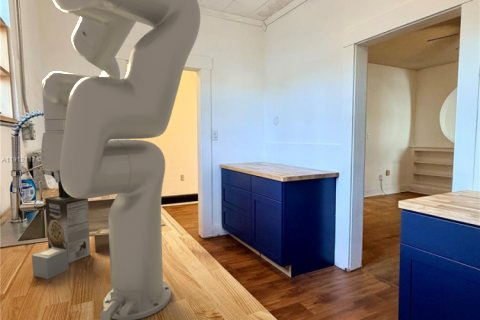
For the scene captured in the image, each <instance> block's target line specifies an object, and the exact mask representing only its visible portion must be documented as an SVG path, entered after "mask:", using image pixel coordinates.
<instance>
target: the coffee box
mask: <svg viewBox="0 0 480 320" xmlns="http://www.w3.org/2000/svg"><path fill="white" fill-rule="evenodd" d="M44 202H45V215H46V216H45V217H46V231H47V244H48V245H47V247H48V248H47V249H49V248H52V247H55V248H60V249H65V250H67V253H68V264H70V263H73V262H76V261H78V260H80V259H83V258H86V257H87V256H90V255H91V243H90V242H91V241H90V220H89V219H90V216H89V215H90V214H89V198H88V199H78V198H74V197H72V196H70V197H67V198H60V197H59V195H54V196H50V197H45V198H44Z"/></svg>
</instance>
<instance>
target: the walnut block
mask: <svg viewBox="0 0 480 320" xmlns="http://www.w3.org/2000/svg"><path fill="white" fill-rule="evenodd" d="M93 237H94V249H95V250H94V252H95V253H101V252H102V253H104V252H110V248H109V228H100V229H98V230H97V231H96V232H95V234H94V236H93Z"/></svg>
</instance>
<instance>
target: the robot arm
mask: <svg viewBox="0 0 480 320" xmlns="http://www.w3.org/2000/svg"><path fill="white" fill-rule="evenodd" d="M52 1H53V3H54V5H55V7H56V8H58V9H59V10H60V11H62V12H63V13H68V14H70V15H73V16H75V17H79V19H78V21H77V24H76V26H75V28H74V30H73V32H72V34H71V43H72V45H73V48H74V49H75V51H76V52H77V53H78V54H79V55H80V56H81V57H82V58H83V59H84V60H86V61H87V62H88V63H90V64H91V65H94V66H95V67H97V68H98V69H99V70H101V71H102V72H101V74H100V75H85V74H78V73H72V72H71V73H69V72H63V71H52V72H50V73H48V75H47V76H46V77H45V78H43V79H42V82H41V90H42V91H41V92H42V107H43V109H42V110H43V119H44V120H43V122H44V132H43V133H42V137H41V138H42V139H41V148H40V149H41V152H40V153H41V154H40V155H41V156H40V158H41V166H42V169H43V170H44V175H47V176H51V177H52V178H53V179H54V182H55V183H56V184H58V187H57V189H58V196H59V197H60V198H67V197H70V196H72V197H74V198H78V199H88V200H89V199H94V198H101V197H105V196H111V195H116V196H115V198H114V200H113V202H112V204H111V206H110V209H109V212H108V218H107V222H108V225H107V226H108V227H107V228H108V229H109V248H110V251H109V263H110V266H109V267H110V269H109V270H110V285H111V286H110V287H111V290H110V291H109V292H108V293H107V294H106V296H104V297H103V298H104V299H103V301H102V310H101V312H100V313H99V319H100V320H111V319H114V320H140V319H144V318H146V317H150V316H152V315H154V314H156V313H158V312H160V311H161V310H162V309H164V308H165V307H166V306H167V305H168V303H169V302H170V300H171V297H172V288H171V286H170V285H169V284H168V283H167V282H165V281H164V275H163V274H164V272H163V271H164V270H163V245H162V243H163V242H162V241H163V240H162V239H163V237H162V236H163V235H162V194H163V193H162V191H163V185H164V184H163V183H164V178H165V175H166V174H165V172H166V159H165V155H164V153H163V151H162V149H161V148H160V147H159V146H158V145H156V144H155V143H153V142H151V141H148V140H144V139H153V138H158V137H160V136H162V135H163V134H164V133H165V132H166V130H167V128H168V125H169V122H170V120H171V117H172V115H173V114H172V113H173V109H174V106H175V102H176V99H177V94H178V91H179V88H180V84H181V80H182V75H183V71H184V69H185V65H186V64H187V60H188V58H189V56H190V53H191V52H192V51H193V48H194V44H195V43H196V41H197V37H198V34H199V32H200V27H201V9H200V6H199V2H198V0H52ZM136 23H140V24H144V25H146V26H150V27H151V28H152V29H151V30H149V31H148V32H146V33H145V34H144V35H143V36H142V37H140V39H139V40H138V41H137V42H136V43H135V45H134V46H133V48H132V49H131V51H130V55H129V58H128V65H127V70H126V73H125V76H124V77H123V78H122V79H121V70H120V69H121V68H120V66H119V63H118V60H117V59H116V56H117V54H118V52H119V51H120V50H121V49H122V46H123V44H124V43H125V41H126V40H127V38H128V36H129V34H130V33H131V32H132V29H133V28H134V26H135V25H136ZM142 139H143V140H142Z"/></svg>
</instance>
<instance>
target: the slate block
mask: <svg viewBox="0 0 480 320" xmlns="http://www.w3.org/2000/svg"><path fill="white" fill-rule="evenodd" d="M31 263H32V274H33V276H34V277H38V278H42V279H46V280H50V279H52V278H54V277H56V276H58V275H61V274H62V273H64V272H66V271H68V270H69V263H68V253H67V250H65V249H60V248H55V247H52V248H47V249H45V250H42V251H39V252H36V253H34V254H32V255H31Z"/></svg>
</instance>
